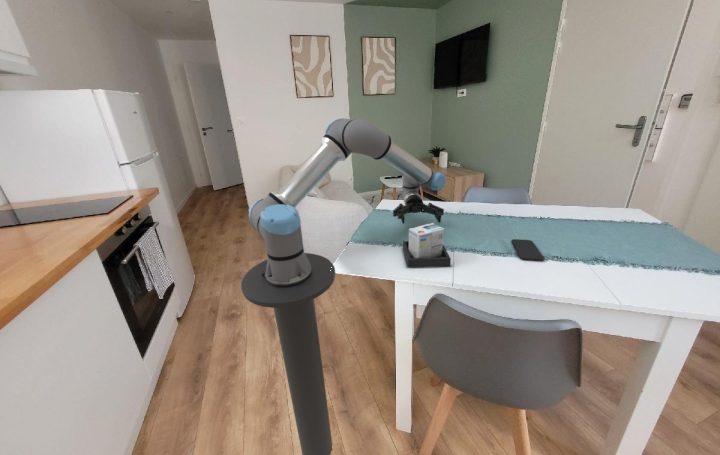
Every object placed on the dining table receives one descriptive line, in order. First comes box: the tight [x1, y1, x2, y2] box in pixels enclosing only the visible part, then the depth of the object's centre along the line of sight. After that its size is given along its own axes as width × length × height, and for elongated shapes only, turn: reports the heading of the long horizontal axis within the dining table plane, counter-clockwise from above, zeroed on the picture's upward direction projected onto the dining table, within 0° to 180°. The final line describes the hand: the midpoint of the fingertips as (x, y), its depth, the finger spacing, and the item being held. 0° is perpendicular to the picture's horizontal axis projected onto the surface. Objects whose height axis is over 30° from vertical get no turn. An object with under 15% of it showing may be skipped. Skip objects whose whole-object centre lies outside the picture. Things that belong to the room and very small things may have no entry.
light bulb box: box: [408, 222, 445, 258], centre depth 103 cm, size 11×7×11 cm, turn 115°
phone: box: [511, 238, 545, 262], centre depth 106 cm, size 7×1×15 cm
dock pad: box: [402, 240, 452, 268], centre depth 105 cm, size 14×14×3 cm
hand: (421, 219), depth 109 cm, fingers open, 13 cm apart
